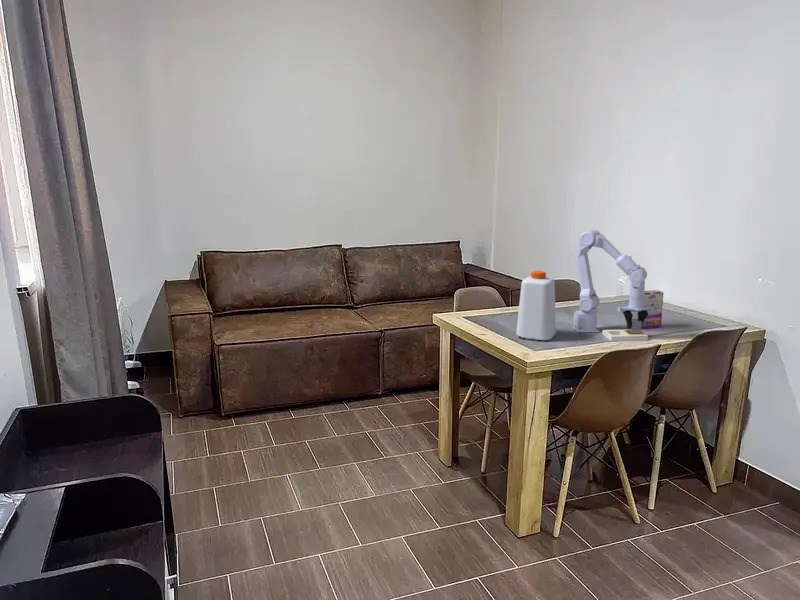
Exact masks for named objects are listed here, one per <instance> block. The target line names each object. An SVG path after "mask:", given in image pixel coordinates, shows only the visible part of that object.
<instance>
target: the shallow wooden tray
mask: <svg viewBox="0 0 800 600" xmlns="http://www.w3.org/2000/svg"><path fill="white" fill-rule="evenodd" d="M627 331H628V328H627V329H625V328H624V329H602V332H601V334H602V335H603V336H604V337H605V338H606V339H607V340H610V342H633V341H639V342H641V341H648V340H649V335H647V334H646V333H645V332H643V331H642V330H641V334H629V333H628V332H627ZM640 340H641V341H640Z"/></svg>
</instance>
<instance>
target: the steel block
mask: <svg viewBox="0 0 800 600" xmlns="http://www.w3.org/2000/svg"><path fill="white" fill-rule="evenodd" d="M641 325H642V321H641V320H639V319H634V318H632V321H631V329H629V328H627V329H628V331H627V332H628V333H629V334H641V331H642V329H641Z"/></svg>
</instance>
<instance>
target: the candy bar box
mask: <svg viewBox="0 0 800 600" xmlns="http://www.w3.org/2000/svg"><path fill="white" fill-rule="evenodd" d="M663 301H664V291H661V290H659V289H654V290H652V289H651V290H644V302H643V306H652V307H654V310H653V312H651V311H647V312H648V316H647V317H646V318H645V320H644V322H643V324H642V327H641V330H643V329H644V330H645V329H657V328H661V327H662V319H663V318H662V316H663V305H664V304H663V303H664V302H663ZM633 319H638V311H636V312H633Z"/></svg>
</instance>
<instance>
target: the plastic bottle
mask: <svg viewBox="0 0 800 600" xmlns="http://www.w3.org/2000/svg"><path fill="white" fill-rule="evenodd" d="M546 275H547V273H546V272H545V271H542V270H533V271H531V273H530V275H529V276H527V277H525V278H524V279H523V280H522V281H521V285H520V292H519V293H520V295H519V305H518V313H517V325H516V331H515V332H516V333H515V334H516V336H517V335H518V336H521V337H526V338H533V339H540V340H548V341H550V340H552V338H553V337H554V336H555V335H556V333H557V331H556V330H557V329H556V327H557V326H556V292H555V291H556V289H555V288H556V287H555V279H554V278H552V277H548V276H546ZM518 336H517V337H518ZM549 339H550V340H549Z"/></svg>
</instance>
